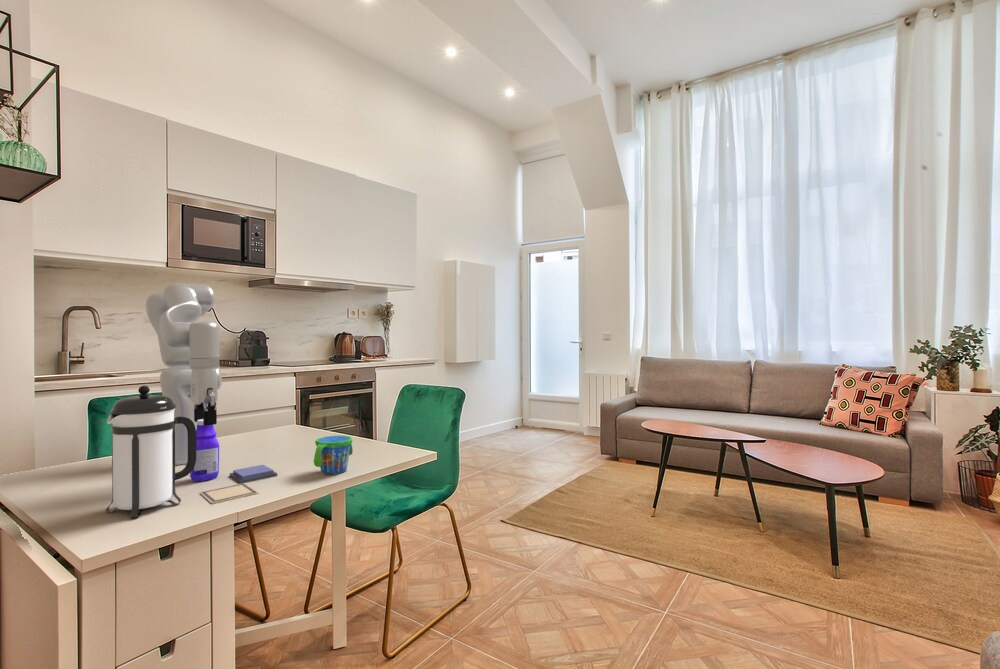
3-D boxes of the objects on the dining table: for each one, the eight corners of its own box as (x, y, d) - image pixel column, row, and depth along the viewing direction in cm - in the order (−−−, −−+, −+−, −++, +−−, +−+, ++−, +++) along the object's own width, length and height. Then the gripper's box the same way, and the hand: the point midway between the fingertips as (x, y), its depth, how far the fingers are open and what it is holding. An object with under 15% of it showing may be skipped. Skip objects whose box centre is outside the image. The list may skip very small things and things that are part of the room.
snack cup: (339, 463, 157) (339, 432, 157) (364, 467, 152) (364, 435, 152) (301, 476, 143) (301, 442, 143) (328, 481, 138) (328, 446, 138)
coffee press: (173, 515, 112) (173, 387, 112) (91, 523, 108) (91, 390, 107) (197, 491, 129) (196, 380, 129) (127, 497, 124) (126, 382, 124)
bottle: (216, 474, 145) (215, 416, 145) (221, 478, 141) (221, 419, 140) (188, 479, 140) (187, 419, 139) (192, 483, 135) (192, 422, 135)
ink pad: (229, 475, 143) (229, 470, 143) (264, 469, 150) (264, 463, 150) (240, 483, 136) (240, 477, 136) (277, 475, 143) (277, 470, 143)
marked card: (199, 493, 127) (199, 492, 127) (244, 484, 135) (244, 482, 135) (212, 504, 120) (212, 502, 120) (258, 493, 128) (258, 491, 128)
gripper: (182, 364, 143) (182, 421, 143) (197, 365, 131) (198, 428, 131) (210, 363, 148) (211, 418, 148) (228, 364, 136) (228, 424, 136)
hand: (205, 423), depth 140 cm, fingers open, 9 cm apart
